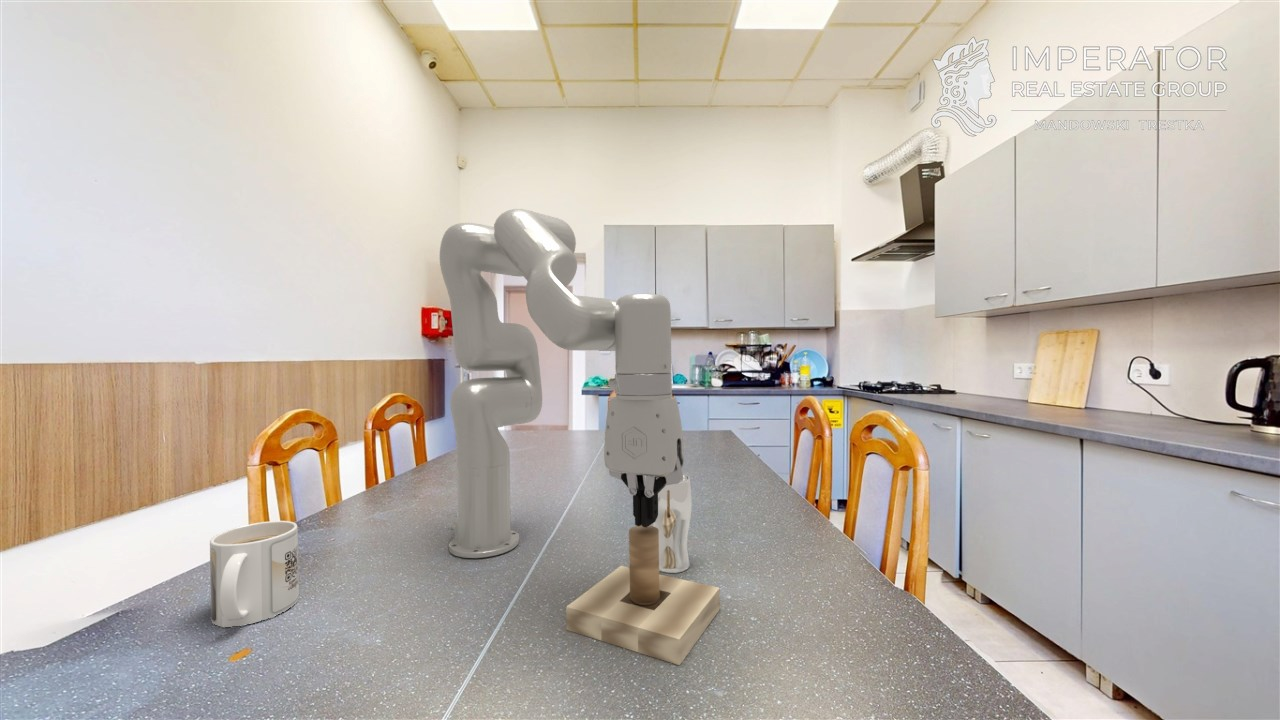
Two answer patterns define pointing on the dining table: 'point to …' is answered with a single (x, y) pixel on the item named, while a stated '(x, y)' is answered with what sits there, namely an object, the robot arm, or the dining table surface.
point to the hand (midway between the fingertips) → (645, 523)
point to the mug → (253, 572)
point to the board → (645, 615)
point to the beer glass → (674, 526)
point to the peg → (644, 566)
